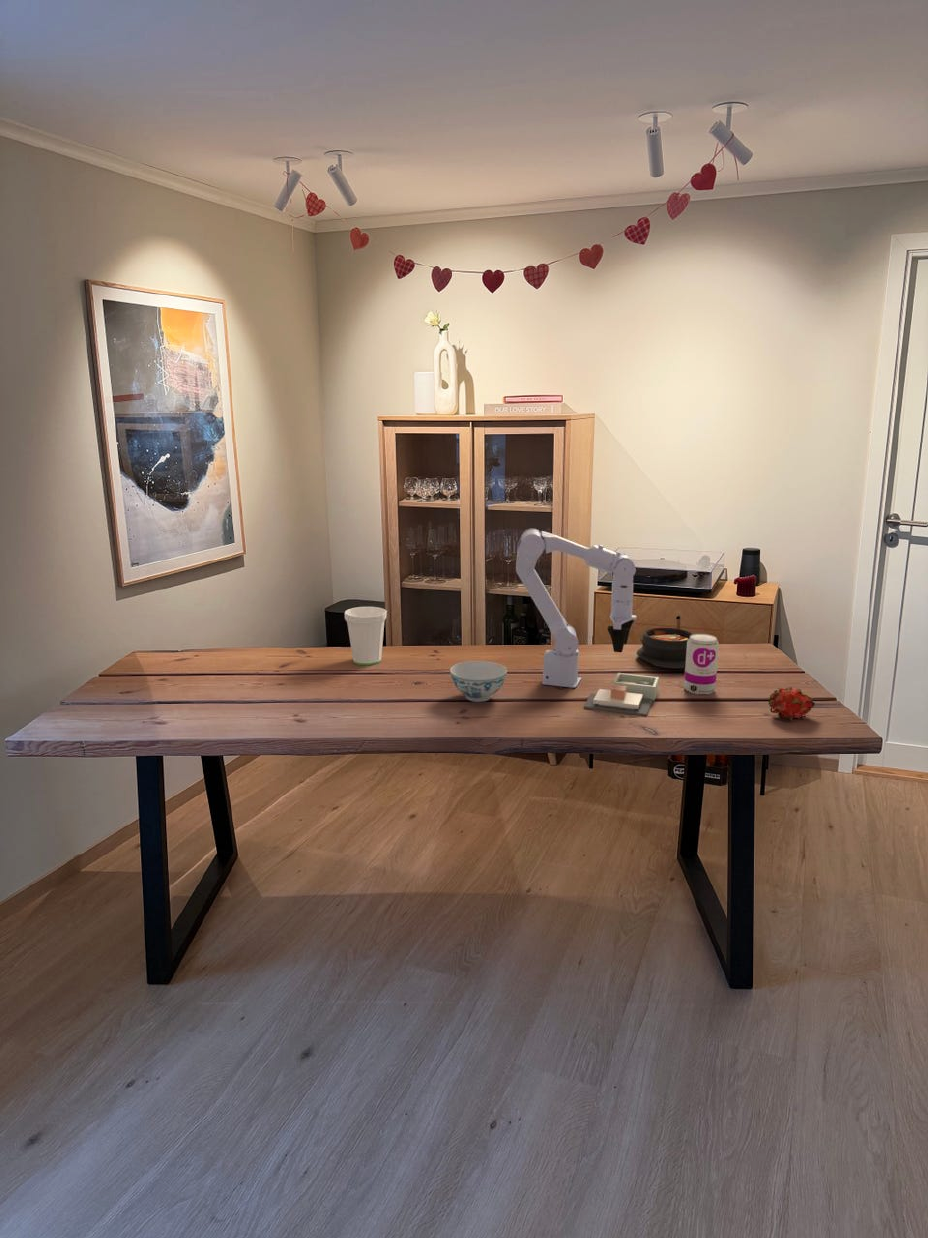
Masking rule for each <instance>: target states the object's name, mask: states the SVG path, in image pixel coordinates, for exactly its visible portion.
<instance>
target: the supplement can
mask: <svg viewBox="0 0 928 1238" xmlns="http://www.w3.org/2000/svg"><path fill="white" fill-rule="evenodd" d="M719 649H720V643H719V641H718V638H717V636H714V635H711V634H707V633H693V635H691V636H690V638H689V640H688V641H687V651H686V665H685V668H684V682H683V688H684V689H685V690H686V691H687V690H688V691H689V692H688V691H687V692H688V693H690V692H692V693H691V694H693V693H696V694H695V695H698V694H707V695H711V694H712V693H713V692H715V691H716V683H717V674H718V673H717V672H718V662H719V661H718V660H719Z"/></svg>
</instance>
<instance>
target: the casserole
mask: <svg viewBox="0 0 928 1238" xmlns="http://www.w3.org/2000/svg"><path fill="white" fill-rule="evenodd" d="M693 634H694V633H693V632H690V631H689V630H685V629H681V628H675V627H654V628H650V629H647V630H645V631H644V632H643V634H642V636H641V637H640V638H639V640H640V642H641V648H639V649H638V650H637V651H636V655H637V657H638V658H640V659H642V660H643V661H646V662H649V663H650V664H652V665H653V666H656V667H658V668H665V669H676V670H677V669H685V665H686V651H687V641H688V640H689V638H690V636H691V635H693Z"/></svg>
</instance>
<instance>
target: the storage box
mask: <svg viewBox="0 0 928 1238" xmlns="http://www.w3.org/2000/svg"><path fill="white" fill-rule="evenodd" d="M659 681H660V677H659V676H651V675H650V676H649V675H642V674H640V675H639V674H631V673H621V672H617V674H616V676H615V678H614V680H613V682H612V686H613V685H619V686H627V692H629V693H638V694H643V698H642V699H643V700H651V701H652V702H655V701H656V698H657V695H658V693H657V692H659ZM656 694H657V695H656ZM655 697H656V698H655Z"/></svg>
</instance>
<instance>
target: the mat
mask: <svg viewBox="0 0 928 1238" xmlns="http://www.w3.org/2000/svg"><path fill="white" fill-rule="evenodd" d="M596 694H597V693H590V695H589V697H588V698H587V700H586V702H585V703H584V704H583V709H586V710H587V709H588V710H595V711H604V712H611V713H612V712H613V713H621V714H628V715H636V716H637V715H638V716H645V717H647V716H648V714H649V710H650V708H651V705H652V704H653V701H651V700H643V699H642V701H641V703H640V705H639V708H638V709H635V708H634V710H633V709H625V708H617V707H609V706H601V705H599V704H594V703H593V700H594V698H595V696H596Z"/></svg>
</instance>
